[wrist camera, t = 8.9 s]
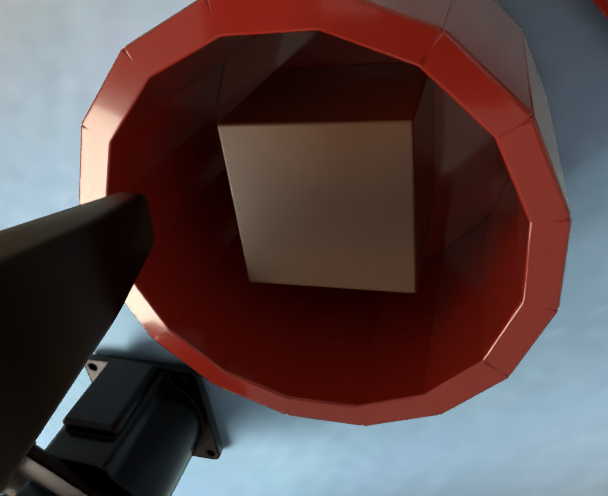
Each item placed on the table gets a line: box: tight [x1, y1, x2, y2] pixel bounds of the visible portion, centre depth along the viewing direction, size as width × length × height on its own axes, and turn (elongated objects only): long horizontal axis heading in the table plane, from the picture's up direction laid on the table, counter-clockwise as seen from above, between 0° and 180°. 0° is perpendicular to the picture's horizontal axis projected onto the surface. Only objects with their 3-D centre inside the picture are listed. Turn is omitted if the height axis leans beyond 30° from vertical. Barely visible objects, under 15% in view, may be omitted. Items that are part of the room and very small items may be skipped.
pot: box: [79, 0, 572, 426], centre depth 17 cm, size 12×12×7 cm
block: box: [217, 63, 433, 293], centre depth 17 cm, size 5×5×5 cm
